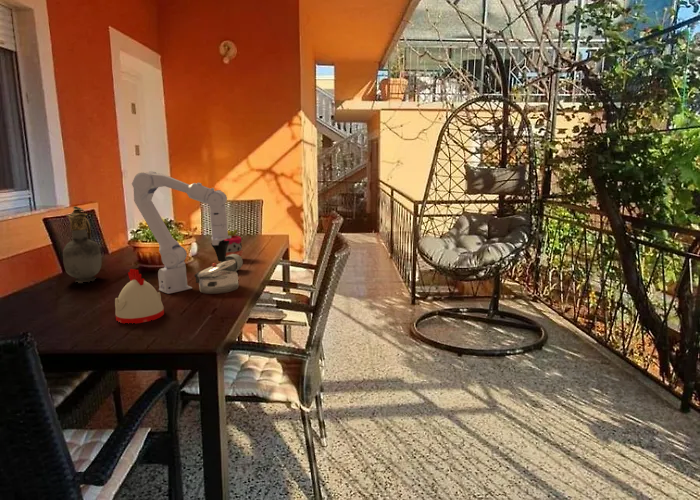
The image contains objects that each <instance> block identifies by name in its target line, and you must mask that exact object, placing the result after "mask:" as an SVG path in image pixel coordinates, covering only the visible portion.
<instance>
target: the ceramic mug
mask: <svg viewBox="0 0 700 500" xmlns="http://www.w3.org/2000/svg"><path fill="white" fill-rule="evenodd" d="M228 260H235V261H236V262H235V263H234V264H233V265H231V266H229V267H227V268H225V269H223V270H228V271H233V272H236V273H237V271H238V270H241V268H242V266H243V264H244V261H243V257H242V258H241V257H240V256H239V255H237V254H231V255H228V256H226V258H225V261H228ZM225 261H220V263H222V262H225ZM221 271H222V270H221Z"/></svg>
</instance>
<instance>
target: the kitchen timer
mask: <svg viewBox="0 0 700 500" xmlns="http://www.w3.org/2000/svg"><path fill="white" fill-rule="evenodd" d="M127 275H128V278H129V282H127V283H126V284H125V286H123V288H122V289H121V291H120V292H119V295H118V297H115V298H114V307H115V321H116V322H117V321H118V323H119V322H120V324H125V323H128V324H129V323H132V324H133V323H135V324H141V323H146V322H151V320H152V321H155V320H157V319H160V318H161V317H163V316H164V315H165V307H164V305H163V302H162V296H161V294H162V293H161V291H159V292H158V291H157V290H156V288H155V287H154V286H153V285H152V284H151V283H150V282H147V281H146V280H145V278H142V273H140V272H139V269H137V268H129V271H128V272H127ZM129 325H130V324H129Z"/></svg>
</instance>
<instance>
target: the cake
mask: <svg viewBox="0 0 700 500" xmlns="http://www.w3.org/2000/svg"><path fill="white" fill-rule="evenodd" d="M237 234H238V229H237V228H236V229H235V230H234V231H233V230H228V236H231V238H228V239H225V240H224V241H229V244H228V247H227V251H226V256H228V255H231V254H237V255H239V256H240V257H241V258H242V259H243V254H244V251H243V246H242V237H241V236H239V235H237Z"/></svg>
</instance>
